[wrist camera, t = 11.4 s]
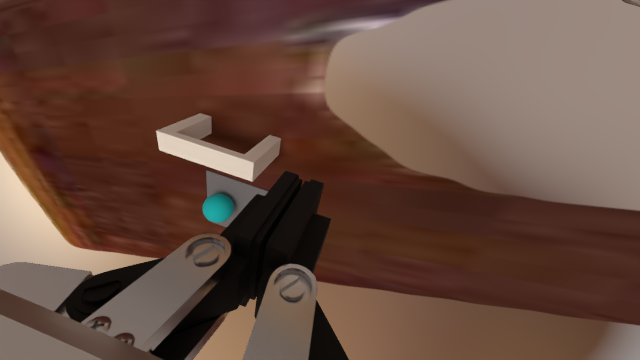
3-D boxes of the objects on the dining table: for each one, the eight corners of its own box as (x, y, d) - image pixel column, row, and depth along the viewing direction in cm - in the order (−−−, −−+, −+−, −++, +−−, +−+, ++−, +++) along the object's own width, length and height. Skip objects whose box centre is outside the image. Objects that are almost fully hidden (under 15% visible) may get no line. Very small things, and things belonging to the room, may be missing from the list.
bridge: (200, 113, 42) (156, 130, 34) (281, 138, 40) (253, 162, 33) (201, 129, 43) (159, 150, 36) (278, 154, 42) (252, 181, 34)
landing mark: (206, 170, 48) (206, 170, 47) (269, 191, 46) (269, 192, 46) (209, 220, 55) (208, 220, 54) (263, 240, 53) (263, 240, 53)
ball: (216, 193, 51) (205, 187, 46) (241, 201, 51) (233, 195, 46) (205, 219, 50) (192, 215, 45) (231, 227, 50) (221, 225, 44)
